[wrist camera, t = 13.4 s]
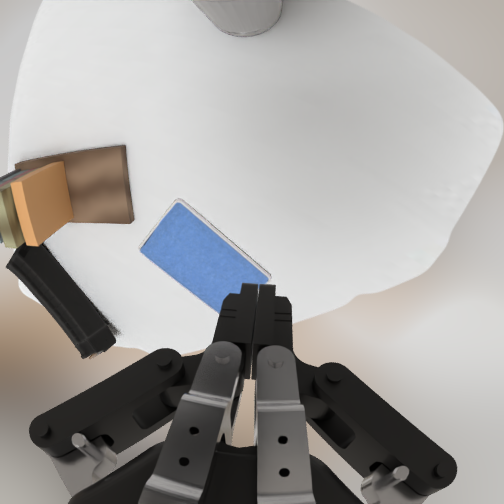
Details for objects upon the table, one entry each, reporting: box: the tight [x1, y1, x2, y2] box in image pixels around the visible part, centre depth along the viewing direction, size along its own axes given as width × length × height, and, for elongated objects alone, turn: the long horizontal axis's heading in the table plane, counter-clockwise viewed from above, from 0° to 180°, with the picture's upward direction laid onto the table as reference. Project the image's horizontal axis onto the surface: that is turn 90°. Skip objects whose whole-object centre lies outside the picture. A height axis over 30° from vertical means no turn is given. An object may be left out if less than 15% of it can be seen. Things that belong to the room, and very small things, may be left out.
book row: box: [0, 145, 134, 249], centre depth 34 cm, size 12×26×14 cm, turn 89°
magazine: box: [6, 242, 116, 359], centre depth 46 cm, size 17×3×30 cm
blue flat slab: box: [139, 199, 271, 314], centre depth 45 cm, size 19×13×1 cm, turn 47°
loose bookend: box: [10, 161, 74, 246], centre depth 34 cm, size 10×3×10 cm, turn 179°
